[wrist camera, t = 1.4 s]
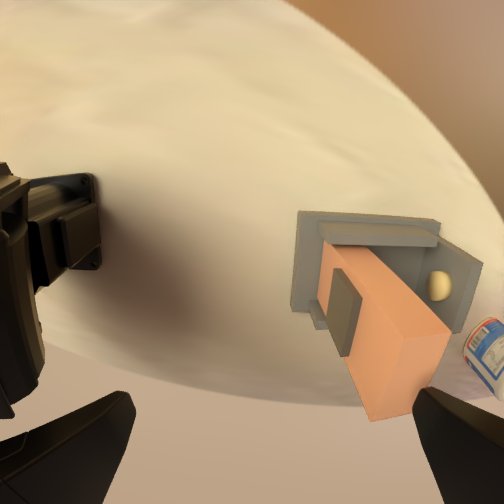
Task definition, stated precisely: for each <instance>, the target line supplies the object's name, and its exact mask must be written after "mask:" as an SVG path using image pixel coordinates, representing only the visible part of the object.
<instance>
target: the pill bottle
mask: <svg viewBox="0 0 504 504" xmlns="http://www.w3.org/2000/svg"><path fill="white" fill-rule="evenodd" d="M463 355H464V358H465V360H466V361H467V363H468V364H469V365H470V366H471V367H472V368H473V370H474V371H475V372H476V373H477V374H478V376H479V377H480V378H481V379H482V381H483V382H484V383H485V384H486V385H487V387H488V388H489V389H490V390H491V392H492V393H493V394H494V396H495V397H496V398H497V399H498V400H500V401H504V325H503V324H502V323H501V322H500V321H499V320H497V319H496V318H489V319H486V320H484V321H482V322H481V323H480V324H479V325H478V326H477V327H476V328H475V329H474V330H473V331H472V333H471V334H470V336H469V337H468V339H467V341H466V343H465V346H464V350H463Z"/></svg>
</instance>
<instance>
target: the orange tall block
mask: <svg viewBox="0 0 504 504" xmlns="http://www.w3.org/2000/svg"><path fill="white" fill-rule="evenodd" d="M317 298H318V301H319V303H320V305H321V307H322V309H323V312H324V314H325V316H326V319H325V322H326V324H327V326H328V329H329V331H330V333H331V336H332V338H333V340H334V343H335V345H336V347H337V350H338V352H339V355H340V357H344V360H345V362H346V364H347V367H348V369H349V372H350V374H351V376H352V379H353V381H354V383H355V386H356V388H357V391H358V393H359V396H360V398H361V401H362V403H363V405H364V408H365V410H366V413H367V415H368V418H369V420H370V422H372V421H378V420H383V419H388V418H392V417H397V416H401V415H405V414H410V413H412V406H413V403H414V401H415V399H416V397H417V394H418V392H419V390H420V389H422V388H425V387H428V385H429V383H430V381H431V379H432V377H433V374H434V372H435V370H436V368H437V366H438V364H439V362H440V359H441V357H442V355H443V353H444V350H445V348H446V345H447V343H448V341H449V338H450V336H451V333H452V332H451V331H450V329H449V328H448V327H447V326H446V325H445V324H444V323H443V322H442V321H441V320H440V319H439V318H438V317H437V316H436V314H435V313H434V312H433V311H432V310H431V309H430V308H429V307H428V306H427V305H426V304H425V303H424V302H423V301H422V300H421V299H420V298H419V297H418V296H417V295H416V294H415V293H414V292H413V291H412V290H411V289H410V288H409V287H408V286H407V285H406V284H405V283H404V282H403V281H402V280H401V279H400V278H399V277H398V276H397V275H396V274H395V273H394V272H393V271H392V270H390V269H389V268H388V267H387V266H386V265H385V264H384V263H383V262H382V261H381V260H380V259H379V258H378V257H377V256H376V255H375V254H373V253H372V252H371V251H370V250H369V249H368V248H367V247H366V246H365V245H340V244H327V242H326V241H325V240H324V244H323V253H322V262H321V270H320V278H319V286H318V293H317Z"/></svg>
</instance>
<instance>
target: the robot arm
mask: <svg viewBox="0 0 504 504" xmlns="http://www.w3.org/2000/svg"><path fill="white" fill-rule="evenodd" d="M84 177H85V178H86V179H87V183H86V184H85V183H84V181H83V180H84ZM100 243H101V238H100V230H99V221H98V211H97V206H96V204H95V199H94V185H93V177H92V175H91V174H90V173H76V174H67V175H59V176H51V177H43V178H36V179H22V178H20V177H16V176H13V173H11V171H10V169H9V167H8V165H7V163H6V162H0V419H12V418H14V417H15V413H14V411H13V410H12V407H11V405H12V404H15V403H16V402H18V401H20V400H21V399H23V398H24V397H26V396H28V395H29V394H30V393H31V392H32V391H33V390H34V389H35V388H36V387H37V386H38V377H39V375H40V373H41V371H42V368H43V366H44V363H45V349H44V344H43V340H42V336H41V333H42V327H41V323H40V322H39V319H38V314H37V308H36V302H35V296H34V295H36V294H37V293H38V292H39V291H40V290H41V289H42V288H43V287H47V286H49V285H51V284H52V283H53V282H54V281H55V280H56V279H57V278H58V277H60V276H61V275H62V274H63V273H64V272H65V271H67V270H68V269H74V270H97V269H99V268H100V267H101V265H102V259H101V253H100V246H99V244H100ZM93 260H94V261H95V262H96V265H95V264H94V263H93ZM412 413H413V417H414V420H415V424H416V427H417V430H418V434H419V438H420V441H421V444H422V447H423V450H424V452H425V455H426V457H427V459H428V462H429V465H430V467H431V470H432V472H433V474H434V477H435V480H436V482H437V485H438V488H439V490H440V493H441V496H442V498H443V501H444V504H504V419H503V418H500V417H499V416H496V415H494V414H492V413H489V412H487V411H485V410H482V409H480V408H478V407H476V406H473V405H471V404H469V403H467V402H464V401H462V400H460V399H458V398H456V397H453V396H451V395H449V394H447V393H445V392H443V391H440V390H438V389H436V388H434V387H425V388H422V389H420V390H419V392H418V394H417V397H416V399H415V401H414V403H413V406H412ZM135 417H136V409H135V406H134V404H133V401H132V399H131V396H130V394H129V393H127V392H124V391H115V392H113V393H111V394H109V395H107V396H105V397H102V398H101V399H98V400H96V401H95V402H92V403H90V404H88V405H86V406H84V407H82V408H80V409H77V410H75V411H73V412H71V413H69V414H67V415H64V416H62V417H60V418H58V419H55V420H53V421H51V422H49V423H47V424H44V425H42V426H39V427H37V428H35V429H32V430H30V431H29V432H24V433H22V434H20V435H17V436H15V437H12V438H9V439H6V440H4V441H0V504H102V503H103V501H104V498H105V496H106V494H107V492H108V489H109V487H110V484H111V482H112V480H113V478H114V475H115V473H116V471H117V468H118V466H119V464H120V462H121V459H122V457H123V455H124V453H125V450H126V447H127V444H128V441H129V437H130V434H131V430H132V427H133V424H134V421H135Z"/></svg>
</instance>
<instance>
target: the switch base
mask: <svg viewBox="0 0 504 504" xmlns="http://www.w3.org/2000/svg"><path fill="white" fill-rule="evenodd" d="M440 224H441V223H440V222H438V221H436V220H434V219H425V218H413V217H400V216H387V215H372V214H355V213H337V212H316V211H298V218H297V232H296V245H295V257H294V269H293V280H292V291H291V301H290V306H291V309H292V312H310V315H311V318H312V320H313V323H314V326H315V328H316V330H323V329H328V326H327V324H326V322H325V319H326V316H325V314H324V312H323V309H322V307H321V305H320V303H319V301H318V298H317V293H318V286H319V278H320V270H321V262H322V253H323V244H324V240H325V241H326V242H327V244H340V245H365V246H366V247H367V248H368V249H369V250H370V251H371V252H372V253H373V254H375V255H376V256H377V257H378V258H379V259H380V260H381V261H382V262H383V263H384V264H385V265H386V266H387V267H388V268H389V269H390V270H392V271H393V272H394V273H395V274H396V275H397V276H398V277H399V278H400V279H401V280H402V281H403V282H404V283H405V284H406V285H407V286H408V287H409V288H410V289H411V290H412V291H413V292H414V293H415V294H416V295H417V296H418V297H419V298H420V299H421V300H422V301H423V302H424V303H425V304H426V305H427V306H428V307H429V308H430V309H431V310H432V311H433V312H434V313H435V314H436V316H437V317H438V318H439V319H440V320H441V321H442V322H443V323H444V324H445V325H446V326H447V327H448V328H449V329H450V331H451V332H452V333H451V334H455V333H460V332H461V330H462V327H463V325H464V322H465V319H466V317H467V314H468V311H469V308H470V305H471V303H472V300H473V296H474V293H475V290H476V287H477V284H478V280H479V277H480V274H481V270H482V266H483V263H482V262H481V261H479V260H478V259H476V258H475V257H473V256H471V255H470V254H468V253H467V252H465V251H463V250H462V249H460V248H458V247H457V246H455V245H453V244H452V243H450V242H448V241H447V240H445V239H443V238H442V237H440V236H438V235H439V230H440Z"/></svg>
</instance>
